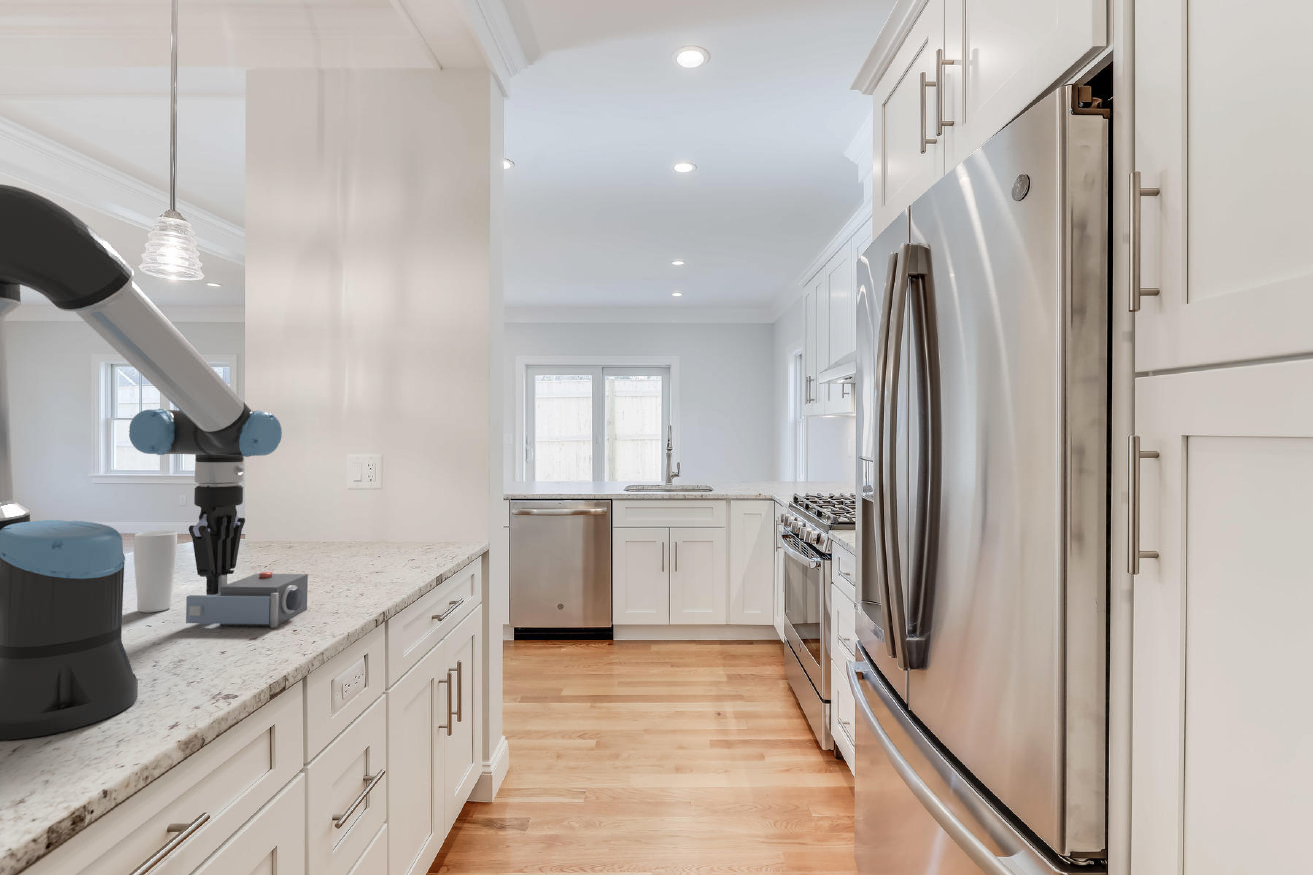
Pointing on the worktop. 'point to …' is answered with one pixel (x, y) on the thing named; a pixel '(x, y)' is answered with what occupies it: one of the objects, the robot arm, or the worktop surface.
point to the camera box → (265, 583)
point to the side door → (232, 609)
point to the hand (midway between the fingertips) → (216, 610)
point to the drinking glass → (155, 569)
